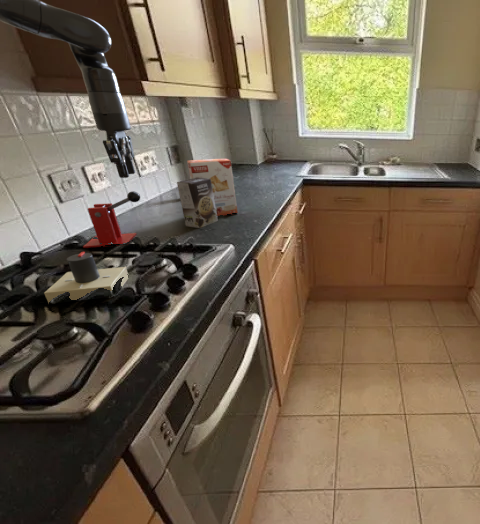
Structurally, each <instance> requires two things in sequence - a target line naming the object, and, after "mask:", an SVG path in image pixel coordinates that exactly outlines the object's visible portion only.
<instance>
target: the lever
mask: <svg viewBox="0 0 480 524" xmlns="http://www.w3.org/2000/svg"><path fill="white" fill-rule="evenodd" d="M139 201H141V195H140V193H139V192H137V191H133V190H132V191H129V192H127V195H126V198H124V199H122V200H120V201H117V202H115V203H112V205H111V206H109V207H107V209H108V213H110V210H112V209H114V210H115V209H116V208H118V207H120V206H122V205H124V204H127V203H128V202H131V203H138V202H139ZM102 207H106V206H105V205H104V206H102Z"/></svg>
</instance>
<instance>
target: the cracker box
mask: <svg viewBox="0 0 480 524" xmlns="http://www.w3.org/2000/svg"><path fill="white" fill-rule="evenodd" d="M186 162H187V168H188V173H189V179H194V178H207V179H211V183H212V189H213V195H214V201H215V207H216V212H217V217H219V216H220V215H223V216H228V215H227V214H231V215H233V214H232V213H238V214H239V212H238V205H237V198H236V191H235V190H236V189H235V182H234V174H233V168H232V167H233V166H232V161H231V160H230V159H229V158H208V159H190V160H186Z"/></svg>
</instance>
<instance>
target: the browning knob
mask: <svg viewBox="0 0 480 524" xmlns="http://www.w3.org/2000/svg"><path fill="white" fill-rule="evenodd" d="M66 261H67V264H68V266H69V269H70V272H72V274H73V276H74V279H75V281H76V282H77V283H87V282H91V281H94V280H96V279H98V278H99V277H100V275H99V272H98V269H99V268H98V266H97V264H96V261H95V259H94V256H93V254H92V253H91V252H86V251H81V252H80V253H75V254H73V255H70V256H67V258H66Z"/></svg>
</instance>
